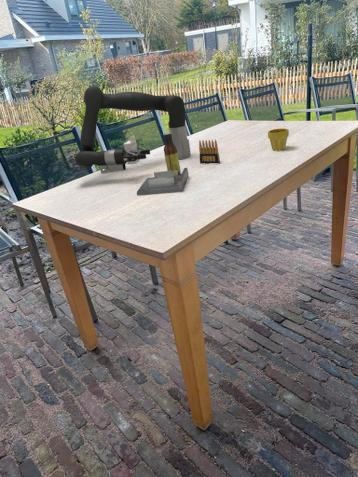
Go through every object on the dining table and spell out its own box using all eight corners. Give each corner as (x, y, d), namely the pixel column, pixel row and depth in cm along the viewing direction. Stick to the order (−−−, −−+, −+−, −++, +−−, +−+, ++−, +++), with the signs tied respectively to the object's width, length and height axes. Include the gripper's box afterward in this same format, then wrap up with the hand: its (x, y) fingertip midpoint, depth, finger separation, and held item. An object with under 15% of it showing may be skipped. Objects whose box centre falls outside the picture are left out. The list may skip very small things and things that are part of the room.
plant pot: (281, 152, 187) (280, 133, 183) (264, 151, 195) (263, 132, 191) (292, 147, 193) (292, 128, 189) (276, 146, 201) (275, 128, 196)
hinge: (100, 174, 201) (96, 155, 197) (102, 171, 206) (98, 153, 202) (125, 170, 201) (121, 151, 196) (126, 167, 206) (122, 149, 201)
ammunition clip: (220, 162, 187) (217, 138, 182) (218, 163, 185) (216, 139, 180) (201, 162, 192) (198, 139, 187) (200, 163, 191) (197, 140, 186)
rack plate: (188, 176, 172) (187, 166, 170) (182, 191, 154) (181, 179, 152) (147, 180, 176) (145, 170, 173) (137, 195, 158) (135, 184, 156)
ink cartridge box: (131, 160, 220) (126, 135, 214) (139, 159, 219) (134, 134, 213) (127, 164, 213) (122, 138, 207) (135, 163, 212) (130, 137, 205)
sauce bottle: (182, 172, 180) (176, 131, 172) (178, 176, 175) (172, 134, 166) (170, 173, 182) (164, 132, 174) (165, 176, 177) (159, 135, 169)
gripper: (109, 152, 171) (143, 149, 168) (118, 146, 184) (149, 142, 181) (113, 168, 174) (145, 165, 171) (121, 160, 187) (152, 157, 184)
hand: (147, 154), depth 176 cm, fingers open, 8 cm apart
